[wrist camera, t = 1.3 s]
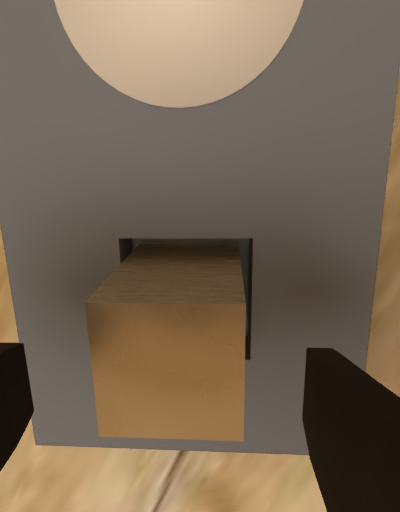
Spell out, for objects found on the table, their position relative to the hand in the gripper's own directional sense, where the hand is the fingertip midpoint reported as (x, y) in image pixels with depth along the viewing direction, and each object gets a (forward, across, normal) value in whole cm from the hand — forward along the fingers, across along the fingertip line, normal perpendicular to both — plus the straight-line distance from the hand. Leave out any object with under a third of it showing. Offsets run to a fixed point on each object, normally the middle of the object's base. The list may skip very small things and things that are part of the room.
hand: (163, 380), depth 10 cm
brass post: (+7, 0, 0) cm, 7 cm away
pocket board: (+8, 0, -5) cm, 9 cm away
